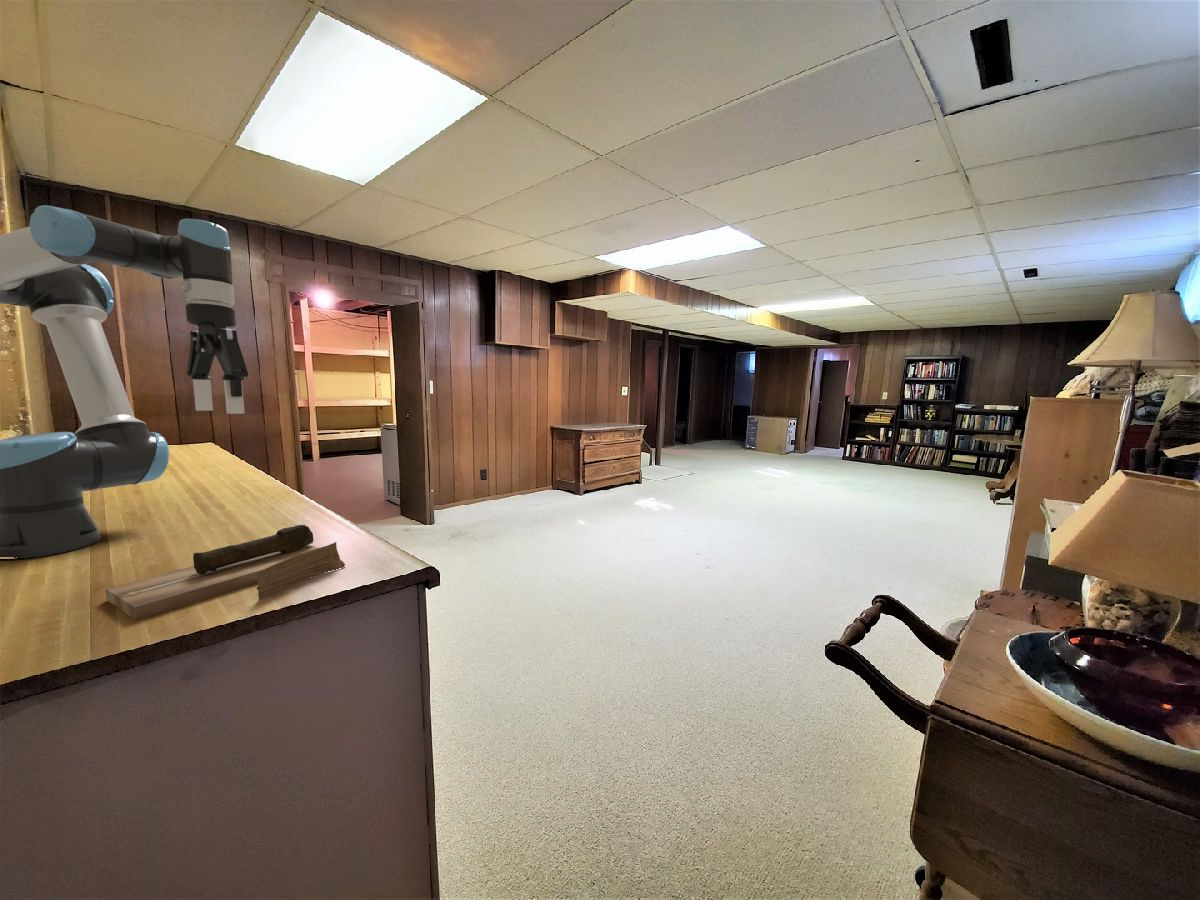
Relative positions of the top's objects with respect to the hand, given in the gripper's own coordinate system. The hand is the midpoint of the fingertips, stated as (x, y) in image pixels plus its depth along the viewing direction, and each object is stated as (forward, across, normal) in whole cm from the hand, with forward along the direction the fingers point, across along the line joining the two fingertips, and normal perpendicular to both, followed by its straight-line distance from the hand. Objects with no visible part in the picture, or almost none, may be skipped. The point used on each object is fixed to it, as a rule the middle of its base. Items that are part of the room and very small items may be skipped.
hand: (219, 412), depth 94 cm
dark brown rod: (+26, +18, -3) cm, 32 cm away
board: (+28, +19, -8) cm, 35 cm away
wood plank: (+29, +32, -2) cm, 43 cm away
